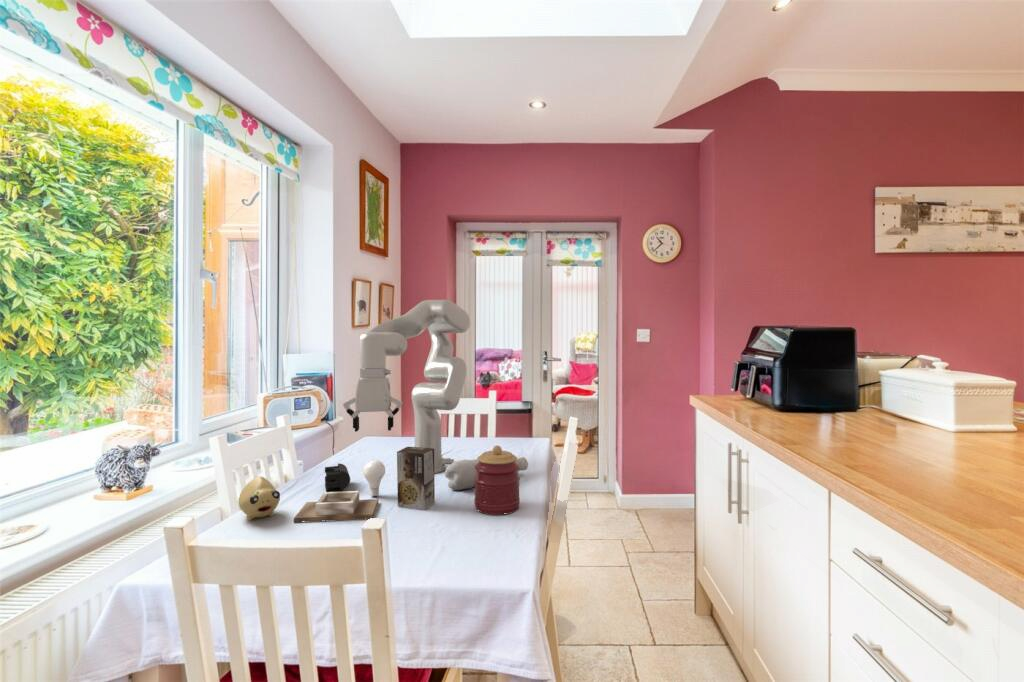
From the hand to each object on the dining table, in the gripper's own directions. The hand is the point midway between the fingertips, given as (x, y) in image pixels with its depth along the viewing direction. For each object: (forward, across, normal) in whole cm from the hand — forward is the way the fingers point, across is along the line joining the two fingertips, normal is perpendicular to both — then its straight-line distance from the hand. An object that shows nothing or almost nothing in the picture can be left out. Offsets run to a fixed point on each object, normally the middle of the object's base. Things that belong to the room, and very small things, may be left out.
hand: (373, 430), depth 147 cm
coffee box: (+20, -13, +9) cm, 26 cm away
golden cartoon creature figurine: (+20, +28, +13) cm, 37 cm away
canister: (+20, -36, +14) cm, 44 cm away
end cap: (+21, +13, -10) cm, 26 cm away
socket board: (+20, +8, +12) cm, 25 cm away
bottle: (+21, -36, -10) cm, 43 cm away
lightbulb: (+20, 0, 0) cm, 20 cm away
